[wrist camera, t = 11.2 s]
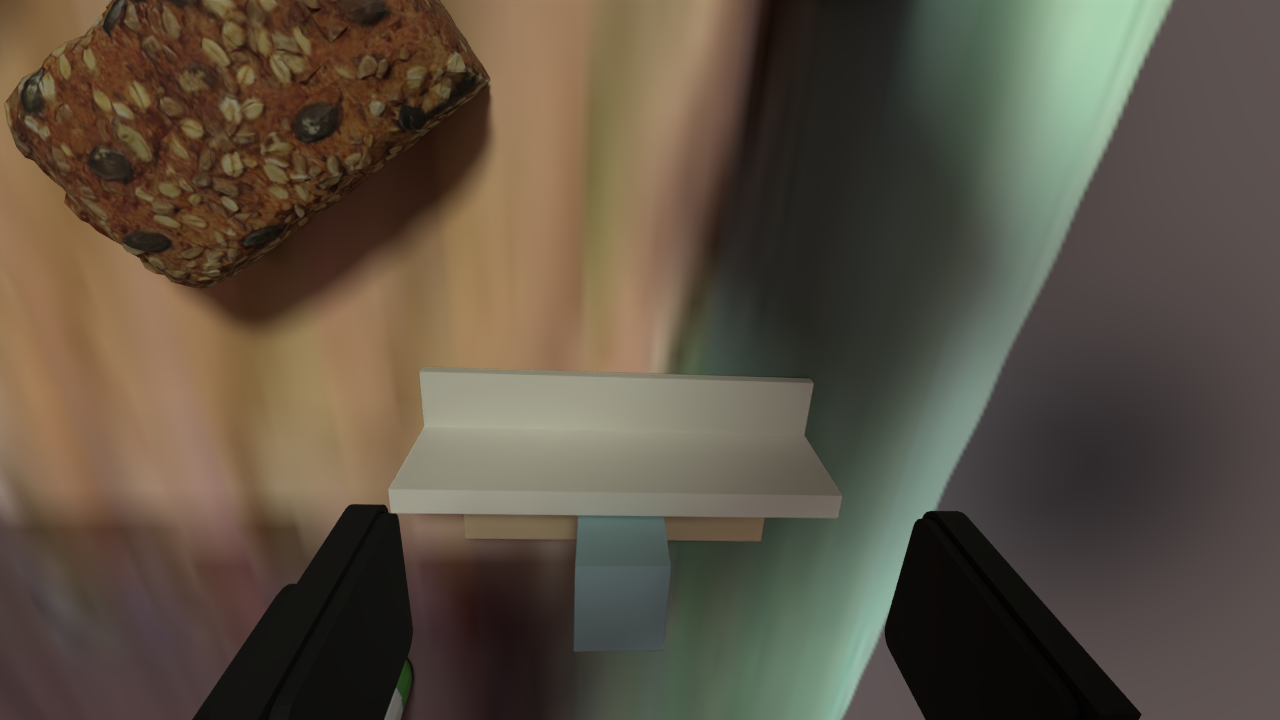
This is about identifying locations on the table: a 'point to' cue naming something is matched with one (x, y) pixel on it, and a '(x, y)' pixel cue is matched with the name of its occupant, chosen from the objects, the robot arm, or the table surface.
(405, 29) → the bread
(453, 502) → the wall shelf
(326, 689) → the robot arm
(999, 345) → the table surface
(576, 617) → the cabinet block
